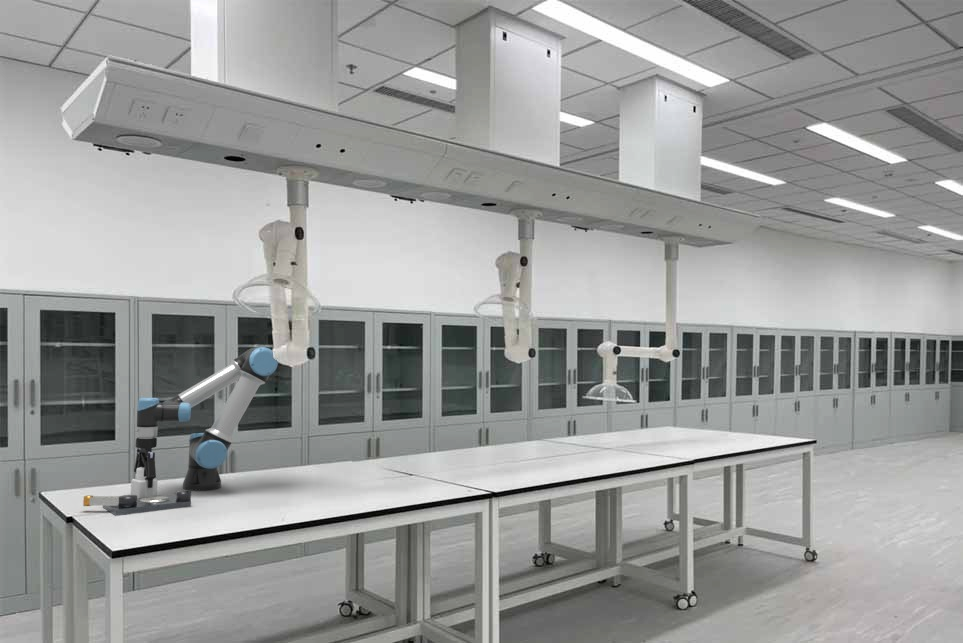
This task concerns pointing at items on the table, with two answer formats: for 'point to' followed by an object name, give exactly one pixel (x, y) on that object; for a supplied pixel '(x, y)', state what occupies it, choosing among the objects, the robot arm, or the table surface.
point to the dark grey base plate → (149, 505)
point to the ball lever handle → (110, 500)
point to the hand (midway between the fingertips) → (143, 493)
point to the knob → (183, 496)
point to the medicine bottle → (141, 484)
